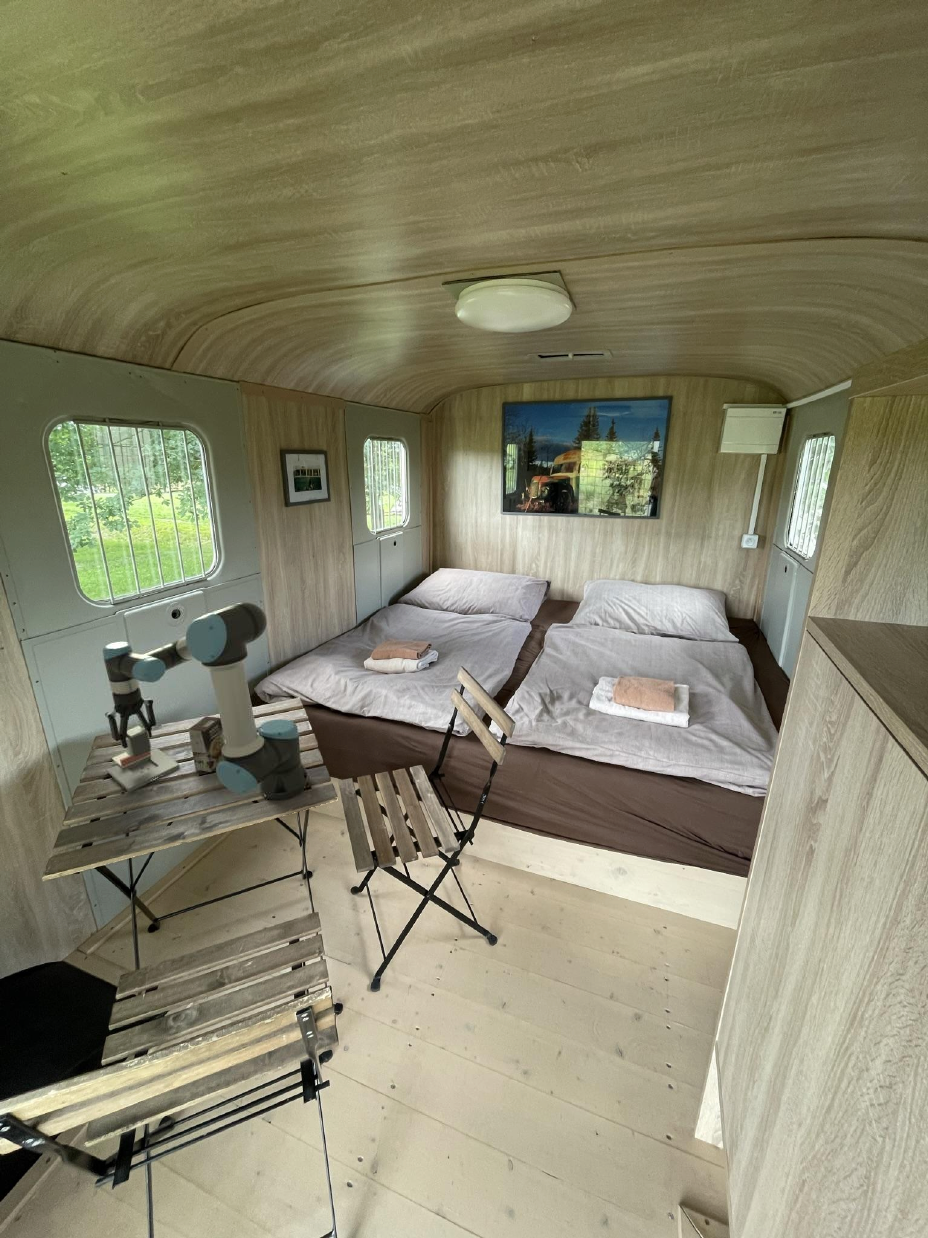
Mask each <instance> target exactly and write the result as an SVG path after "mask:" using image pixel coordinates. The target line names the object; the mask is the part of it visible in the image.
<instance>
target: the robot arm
mask: <svg viewBox="0 0 928 1238" xmlns="http://www.w3.org/2000/svg"><path fill="white" fill-rule="evenodd" d="M267 620H268V619H267V616H266V613H265V611H264V610H263V609H262V608H261V607H260V606H258V605H256V603H255V604H254V603H252V602H247V601H246V602H244V601H243V602H238V603H234V604H232V605H229V606H227V607H226V606H225V607H224V608H222V609H218V610H215V611H212V612H210V613H209V612H208V613H206V614H204V615H202V616H201V617H198V618H196V619H194V620H193V621H191V623H190V624H189V625H188V627H187V630H186V633H185V636H183V637H181V638H179V639H177V640H175V641H172V642H170V643H168V644H165V645H164V646H161V647H158V648H155V649H153V650H150V651H148V652H146V653H142V654H140V653H137V652H134V651H133V647H132V645H131V644H130V642H128V641H116V642H115V641H114V642H112V643H109V644H106V645H105V646H104V647H103V648H102V655H103V661H104V666H105V670H106V674H107V677H108V682H109V686H110V691H111V695H112V696H111V697H112V700H113V703H114V706H113V710H112V711H109V712H108V711H107V712H106V713H105V714H104V715H105V717H106V718H107V720H108V723H109V729H110V733H111V737H112V739H113V740H114V741H116V742H119V741H120V745H121V747H122V748H123V749H125V752H127V754H128V755H129V756H133V753H132V748H131V744H130V740H129V738H128V737H127V730H128V723H129V720H130V717H131V716H133V715H136V718H137V719H138V720H139V721H140V723H141V724H142V727H143V729H144V730H145V731H146V732H147V734H148V739H149V744H150V749H152V744H151V740H150V738H152V736H153V734H152V731H153V727H156V726H157V722H156V716H155V713H154V708H153V706H154V705H153V704H154V700H153V699H152V698H150V697H146V698H143V697H142V692H141V686H140V682H146V683H156V682H158V681H160V680H161V678H162V677H163V676H164V675H165V673H166V671H169V670H171V669H173V668H175V667H178V666H181V665H182V664H185V663H187V662H190V661H192V660H194V659H195V661H198V662H200V663H201V665H202V666H203V667H204V668H207V669H209V673H210V678H211V683H212V687H213V691H214V696H215V699H216V705H217V709H218V715H219V718H220V719H221V724H222V728H223V733H224V740H225V745H224V746H223V747H222V755H223V761H221V762H220V763H219V764H218V766H217V767H215V772H216V775H217V778H218V780H219V781H220V782H221V784H222V785H223V786H224V787H226V788H227V789H229V791H232V792H233V793H236V794H240V795H241V794H242V795H243V794H247V793H249V792H250V791H252V790H253V789H254V788H257V787H258V785H259V790H260V791H261V792H262V793H263V794H265V795H266V797H265V798H266V799H268V800H271V801H284V800H288V799H292V798H294V797H297V796H298V795H300V794H301V793H302V792H304V790H305V789H304V787H305V786H306V784H307V782H308V783H309V775H308V772H307V770H306V768H305V767H304V764H303V762H302V759H301V747H300V734H299V729H298V725H297V724H296V723H295V722H293V721H292V720H287V719H273V720H272V719H271V720H269V721H268V720H267V721H265V722H263V723H262V724H260V725H259V726H258V731H257V726H256V721H255V715H254V711H253V705H252V701H251V697H250V696H251V695H250V692H249V691H250V690H249V685H248V680H247V675H246V671H245V666H244V665H245V663H244V662H245V660H246V659H247V658H248V657H249V655H248V651H247V650H248V648H247V645H248V644H250V643H252V642H255V641H256V640H258V639H259V638H261V637H262V635H263V634H264V633H265V631H266V628H267V623H268V621H267ZM143 705H144V706H145V711H146V715H147V719H146V717H145V715H144V713H143V711H142V710H141V709H142V707H143ZM116 714H119V720H120V721H119V729H118V723H117V718H116V717H117V715H116ZM303 789H304V790H303ZM261 792H260V793H261Z"/></svg>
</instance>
